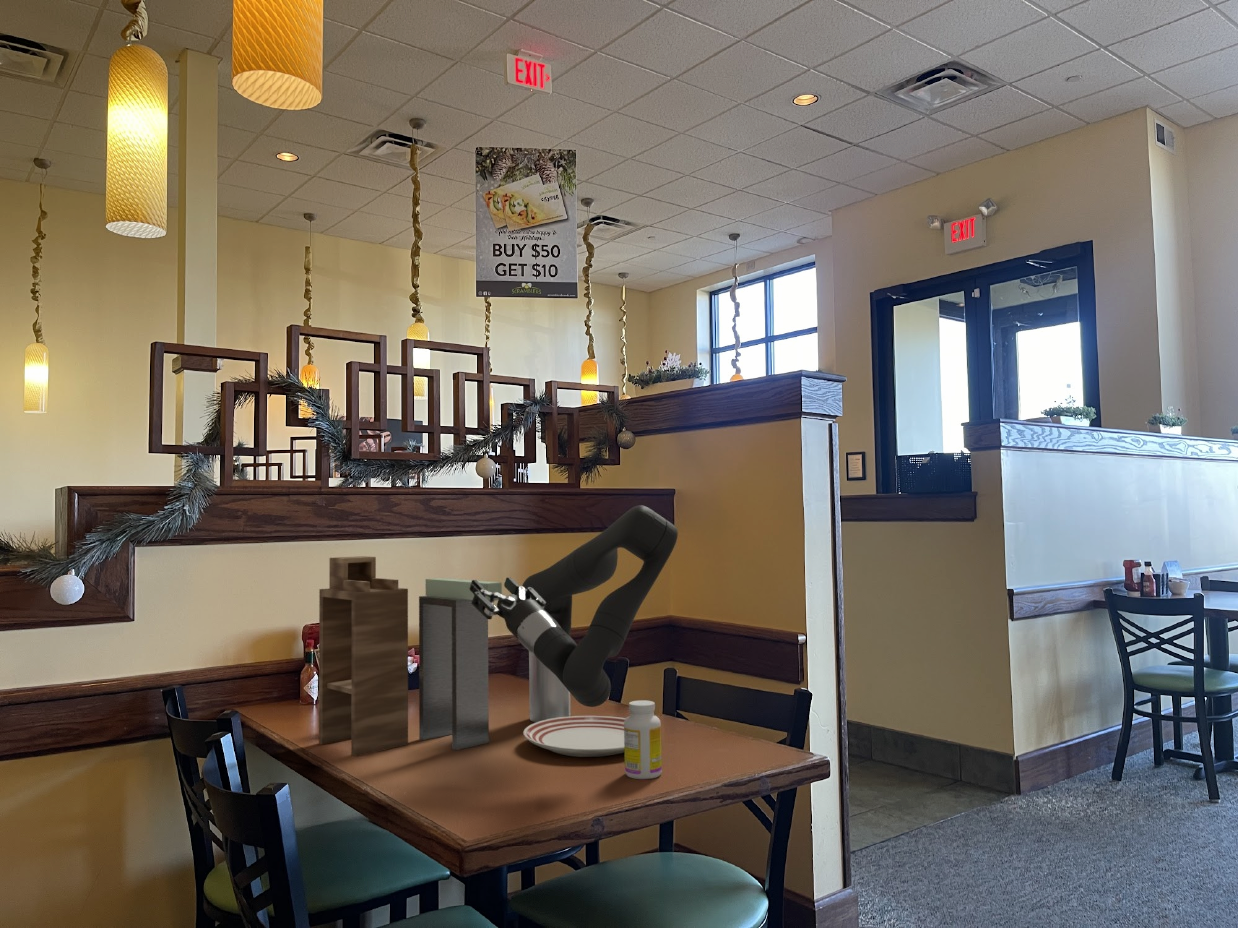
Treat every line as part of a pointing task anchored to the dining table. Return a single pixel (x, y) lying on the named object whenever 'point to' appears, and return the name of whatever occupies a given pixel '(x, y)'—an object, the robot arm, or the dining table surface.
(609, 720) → the dinner plate
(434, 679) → the side stand
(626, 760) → the supplement bottle
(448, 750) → the dining table surface
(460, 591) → the bar
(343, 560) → the tunnel stand
